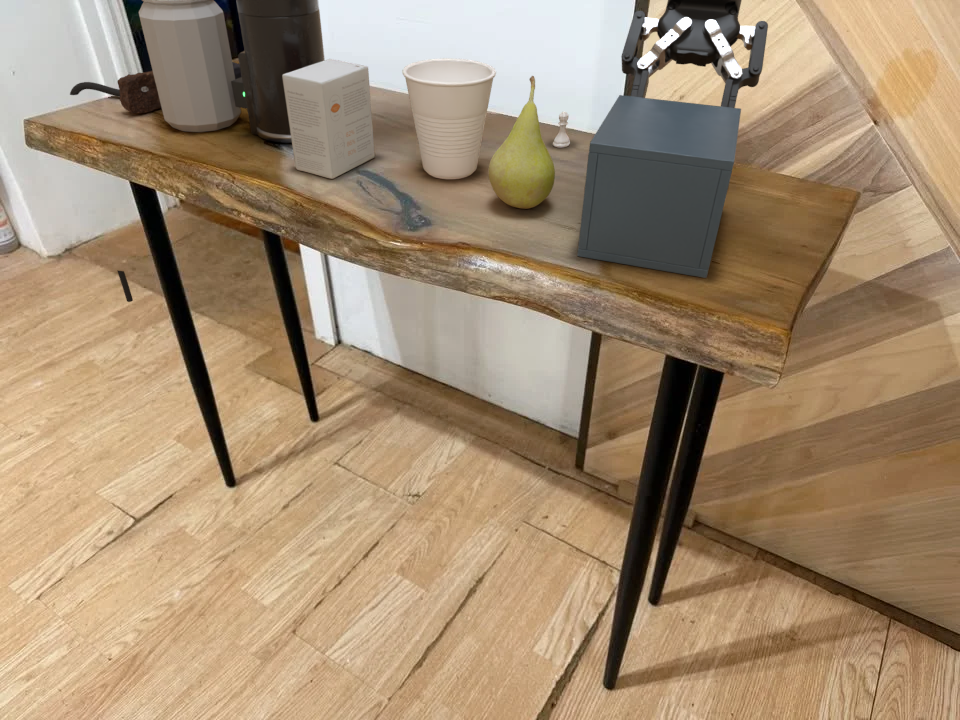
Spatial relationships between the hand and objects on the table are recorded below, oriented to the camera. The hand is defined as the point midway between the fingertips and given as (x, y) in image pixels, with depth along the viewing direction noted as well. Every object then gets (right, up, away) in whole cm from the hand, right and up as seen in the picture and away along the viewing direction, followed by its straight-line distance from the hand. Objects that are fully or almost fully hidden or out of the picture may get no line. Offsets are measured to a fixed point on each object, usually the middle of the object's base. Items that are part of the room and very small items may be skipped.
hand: (679, 113), depth 74 cm
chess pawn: (-11, +1, +15) cm, 19 cm away
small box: (-38, -3, +9) cm, 39 cm away
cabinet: (-4, -13, -5) cm, 15 cm away
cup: (-24, -4, +8) cm, 26 cm away
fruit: (-17, -9, +1) cm, 19 cm away
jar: (-57, +5, +20) cm, 61 cm away
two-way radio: (-55, +16, +29) cm, 65 cm away
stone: (-66, +9, +24) cm, 71 cm away
